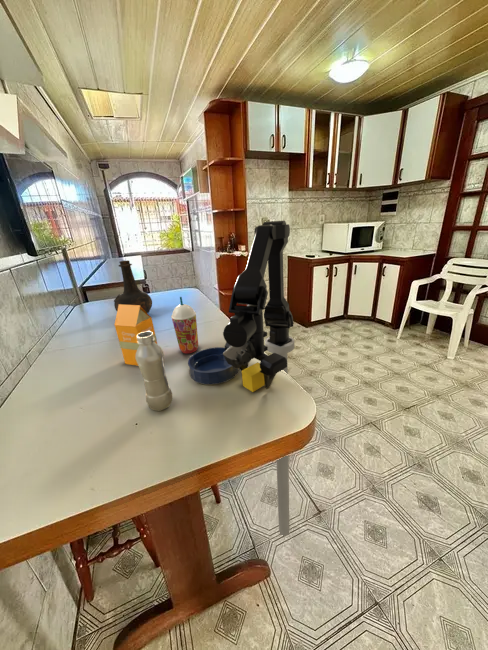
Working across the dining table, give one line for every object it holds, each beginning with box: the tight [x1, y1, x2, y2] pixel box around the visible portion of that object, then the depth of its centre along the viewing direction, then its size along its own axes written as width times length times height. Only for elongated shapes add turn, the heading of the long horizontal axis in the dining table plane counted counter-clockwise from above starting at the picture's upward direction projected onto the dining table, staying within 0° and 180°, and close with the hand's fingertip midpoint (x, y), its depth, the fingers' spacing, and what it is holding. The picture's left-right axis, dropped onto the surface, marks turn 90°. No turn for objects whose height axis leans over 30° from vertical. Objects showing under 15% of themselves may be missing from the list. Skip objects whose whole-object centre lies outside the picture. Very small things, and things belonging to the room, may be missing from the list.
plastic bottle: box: [135, 331, 174, 412], centre depth 65 cm, size 6×7×20 cm
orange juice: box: [113, 304, 158, 367], centre depth 88 cm, size 8×9×20 cm
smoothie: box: [170, 296, 199, 354], centre depth 93 cm, size 8×8×20 cm
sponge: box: [241, 362, 265, 393], centre depth 73 cm, size 6×4×5 cm, turn 131°
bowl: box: [187, 346, 241, 385], centre depth 81 cm, size 15×15×4 cm
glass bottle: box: [113, 260, 153, 314], centre depth 132 cm, size 18×18×28 cm
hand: (255, 381), depth 74 cm, fingers open, 9 cm apart
